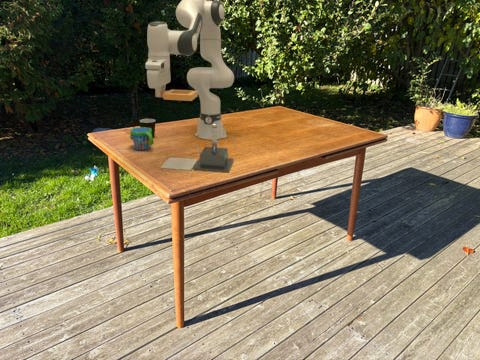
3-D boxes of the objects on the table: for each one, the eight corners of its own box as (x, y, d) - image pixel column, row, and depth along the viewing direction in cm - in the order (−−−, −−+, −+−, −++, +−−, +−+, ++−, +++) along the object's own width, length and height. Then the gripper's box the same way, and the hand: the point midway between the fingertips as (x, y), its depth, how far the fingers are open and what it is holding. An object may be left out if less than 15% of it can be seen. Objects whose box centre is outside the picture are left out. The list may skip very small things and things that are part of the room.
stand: (201, 158, 182) (201, 118, 175) (233, 160, 181) (234, 120, 173) (193, 170, 168) (192, 127, 160) (228, 172, 166) (229, 129, 158)
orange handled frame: (160, 94, 168) (160, 88, 167) (197, 96, 167) (197, 90, 166) (151, 98, 157) (151, 93, 156) (191, 101, 156) (191, 95, 155)
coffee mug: (158, 136, 214) (157, 119, 210) (153, 140, 207) (152, 123, 203) (138, 135, 215) (137, 118, 211) (133, 139, 207) (132, 121, 204)
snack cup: (125, 147, 194) (123, 128, 190) (142, 143, 201) (141, 124, 197) (142, 154, 185) (140, 134, 181) (159, 150, 192) (158, 131, 188)
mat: (169, 158, 181) (169, 157, 181) (197, 160, 180) (197, 159, 180) (160, 168, 168) (160, 167, 168) (190, 170, 167) (190, 169, 167)
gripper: (159, 60, 167) (161, 91, 172) (143, 64, 148) (145, 99, 154) (173, 61, 166) (174, 92, 172) (158, 65, 148) (160, 100, 153)
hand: (160, 95), depth 163 cm, fingers closed on orange handled frame, 3 cm apart
